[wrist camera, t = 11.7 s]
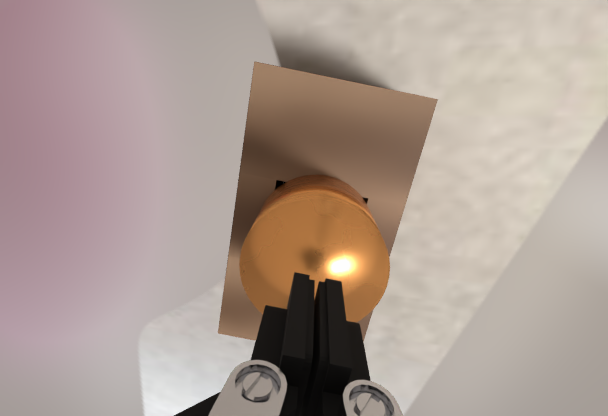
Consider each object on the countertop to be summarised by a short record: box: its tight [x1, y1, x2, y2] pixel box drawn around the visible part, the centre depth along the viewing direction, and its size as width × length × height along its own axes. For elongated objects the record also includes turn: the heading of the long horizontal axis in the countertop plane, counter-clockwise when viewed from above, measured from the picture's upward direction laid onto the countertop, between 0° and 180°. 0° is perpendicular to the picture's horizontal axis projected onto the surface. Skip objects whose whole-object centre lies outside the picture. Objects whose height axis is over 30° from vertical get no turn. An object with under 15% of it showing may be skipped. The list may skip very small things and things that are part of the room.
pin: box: [239, 175, 390, 322], centre depth 19 cm, size 6×6×10 cm
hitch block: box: [218, 62, 438, 341], centre depth 21 cm, size 16×9×6 cm, turn 169°
